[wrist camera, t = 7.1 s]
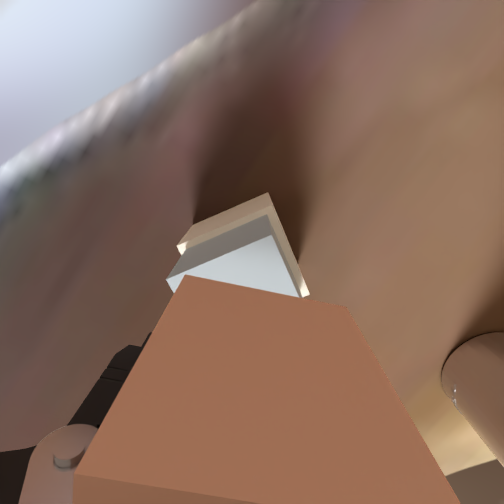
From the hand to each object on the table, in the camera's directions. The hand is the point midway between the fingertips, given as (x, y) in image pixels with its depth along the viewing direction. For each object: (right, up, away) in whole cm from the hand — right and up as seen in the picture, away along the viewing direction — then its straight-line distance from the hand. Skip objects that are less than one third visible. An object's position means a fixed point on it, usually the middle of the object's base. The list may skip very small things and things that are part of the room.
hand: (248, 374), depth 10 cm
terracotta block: (0, 0, +1) cm, 1 cm away
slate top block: (0, +3, +11) cm, 11 cm away
